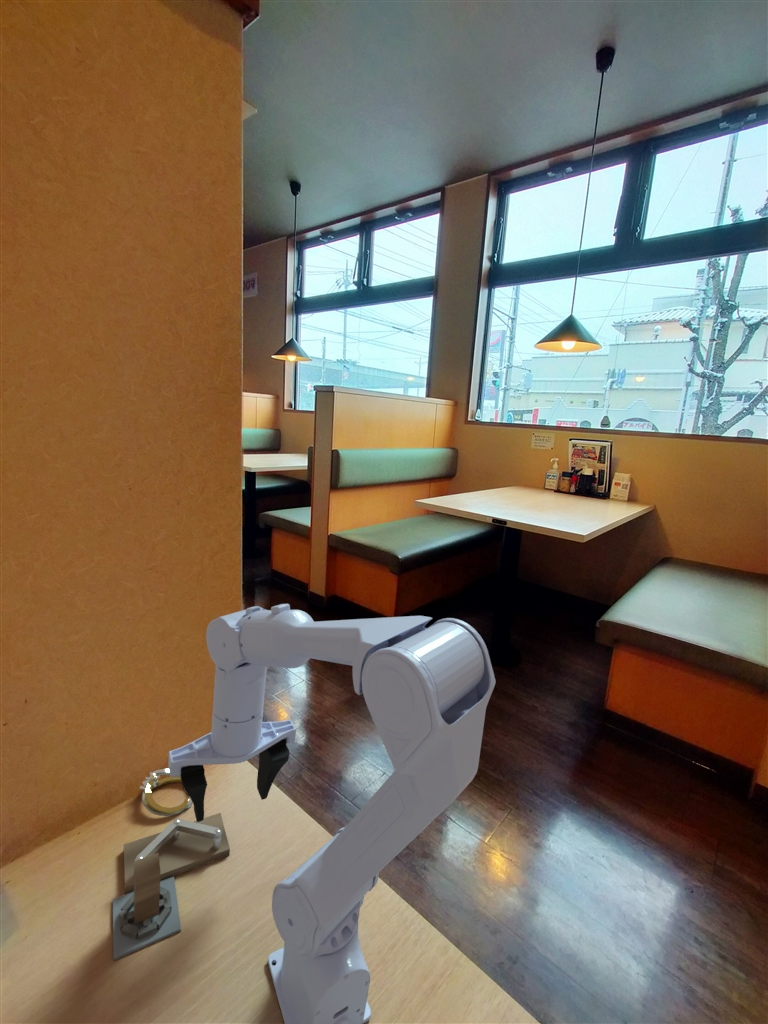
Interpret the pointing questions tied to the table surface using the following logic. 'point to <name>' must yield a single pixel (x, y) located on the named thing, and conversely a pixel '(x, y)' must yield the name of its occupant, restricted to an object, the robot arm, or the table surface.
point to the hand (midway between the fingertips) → (231, 803)
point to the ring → (154, 782)
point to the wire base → (177, 852)
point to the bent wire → (175, 830)
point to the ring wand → (145, 900)
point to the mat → (128, 945)
